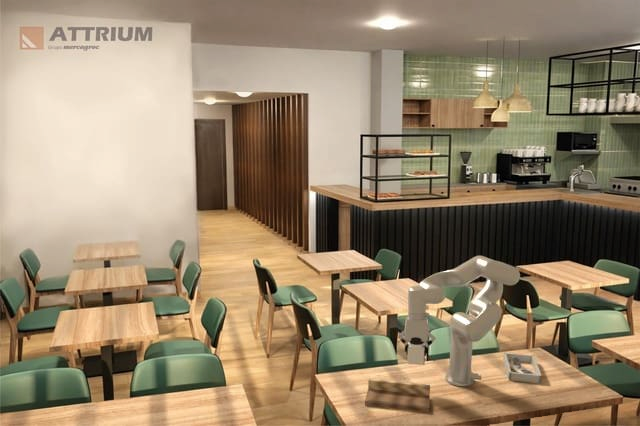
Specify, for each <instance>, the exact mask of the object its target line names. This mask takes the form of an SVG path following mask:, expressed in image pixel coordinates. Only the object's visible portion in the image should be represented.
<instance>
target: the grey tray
mask: <svg viewBox="0 0 640 426" xmlns="http://www.w3.org/2000/svg"><path fill="white" fill-rule="evenodd" d="M515 357H517V358H518V359H519V362H520V363H530V364H531V366H532V369H533V371H534V373H535V374H536V375H535V374H525V373H517V372H516V371H511V369H512V368H510V366H509V363H510V361H511V362H512V361H513V358H515ZM502 358H503V364H504V367H505V371H506V375H507V379H508V381H515V382H525V383H532V384H533V383H534V384H542V382H543V381H542V379H543V375H542V373H541V371H540V368H539V366H538V363H537V361H536V358H535V356H534V354H533V355H532V354H525V353H524V354H523V353H513V352H512V353H511V352H503V357H502Z"/></svg>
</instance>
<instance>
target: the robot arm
mask: <svg viewBox="0 0 640 426" xmlns="http://www.w3.org/2000/svg"><path fill="white" fill-rule="evenodd" d="M480 277H482V278H485V279H486V281H485V284H484V286H483V288H481V290H480V291H478V293H476V295H475V296H474V297H473V298H472V299H471V300H470V301H469V302H468V304H467V311H468V313H469V314H467V313H466V312H464V311H463V312H462V311H459V312H455V313H453V314H451V317H450V319H449V325H448V326H449V331H450V347H449V348H450V350H449V365H448V367H449V368H448V369H449V370H448V373H446V374H445V378H444V379H445V381H446V382H447V383H449V384H450V385H453V386H456V387H470V386H472V385H473V384H474V383H475V380H479V381H481V380H482V375H480V374H479V373H478V372H477V373H476V372H473V371H472V357H473V356H472V355H473V343H478V342H479V341H481V340H482V339H483V338H485V336H487V335H488V334H489V332H490V331H491V330H492V329H493V328H494V327H495V326H496V325H497V324H498V322H499V321H500V319H501V317H502V308H501V306H500V305H499V304H498V301H499V300H500V299H501V298H502V296H503V292H504V285H507V286H514V285H517V283H518V282H519V281H520V279H521V274H520V271H519V269H518V268H517V267H515V266H513V265H511V264H508V263H505V262H502V261H500V260H499V261H498V260H494V259H491V258H488V257H486V256H483V255H476V256H473V257H472V258H470V259H469V260H467V261H466V262H463V263H461V264H460V265H458V266H457V267H454V268H452V269H447V270H445V271H440V272H439V271H438V272H436V273H434V274H432V275H430V276H428V277H426V278H424V279H423V280H421V282H419V283H418V285H413V286H410V287H409V288H408V291H407V292H408V293H407V316H406V317H405V323H404V330H402V331H401V332H400V333H398V334H397V338H398V339H399V341H400V342H401V343H402V344H403V346H404V352H405V354H406V355H407V356H408V343H409V341H411V338H414V337H417V338H421V340H422V342H424V344H425V357H426V356H427V354H428V353H429V347H430V346H431V345H432V344H433V343H434V342H435V341H436V336H435V335H434V334H432V333H431V332H430V331H429V330H430V329H429V319H428V317H430V313H428V312H427V305H428V304H430V305H438V304H441V303H443V301H445V299H446V295H447V294H446V291H445V290H444V289H443V288H445V287H454V288H459V287H460V288H461V287H465V286H467V285H468V284H470V283H471V282H473V281H475V280H476V279H478V278H480ZM471 315H472V316H471ZM429 338H430V339H429Z"/></svg>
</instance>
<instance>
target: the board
mask: <svg viewBox="0 0 640 426" xmlns="http://www.w3.org/2000/svg"><path fill="white" fill-rule="evenodd" d="M367 385H368V386H367V387H368V388H367V392H366V396H365V399H364V406H370V407H378V408H387V409H393V410H394V409H395V410H396V409H397V410H404V411H412V412H413V411H415V412H422V413H428V414H429V413H430V401H431V399H430V398H431V397H430V396H431V395H430V392H431V385H430V384H425V383H424V384H423V383H414V382H405V381H395V380H394V381H393V380H387V379H386V380H384V379H376V378H368V384H367Z"/></svg>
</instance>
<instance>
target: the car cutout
mask: <svg viewBox="0 0 640 426" xmlns="http://www.w3.org/2000/svg"><path fill="white" fill-rule="evenodd" d="M509 366H510V369H512V370H513V372H515V373H525V374H535V372H533V371H532V370H530V369H529V368H528V367H526V366H525V365H523V364H522V362H519V359H518V358H517V357H515V358H513V361H511V362H509ZM535 375H536V374H535Z"/></svg>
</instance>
